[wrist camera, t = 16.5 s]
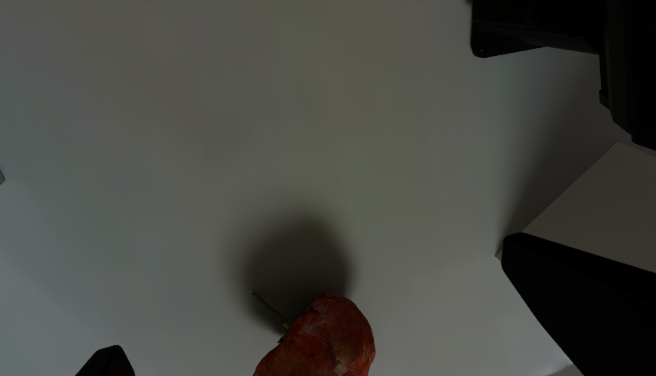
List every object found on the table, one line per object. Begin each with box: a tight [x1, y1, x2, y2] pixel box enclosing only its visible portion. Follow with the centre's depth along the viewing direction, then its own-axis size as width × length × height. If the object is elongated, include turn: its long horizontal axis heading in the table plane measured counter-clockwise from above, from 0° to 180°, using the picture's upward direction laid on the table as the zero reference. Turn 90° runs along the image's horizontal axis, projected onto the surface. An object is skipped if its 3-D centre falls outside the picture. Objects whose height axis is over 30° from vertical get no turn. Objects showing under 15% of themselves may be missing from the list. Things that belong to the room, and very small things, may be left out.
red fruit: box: [252, 292, 376, 376], centre depth 23 cm, size 7×7×10 cm
